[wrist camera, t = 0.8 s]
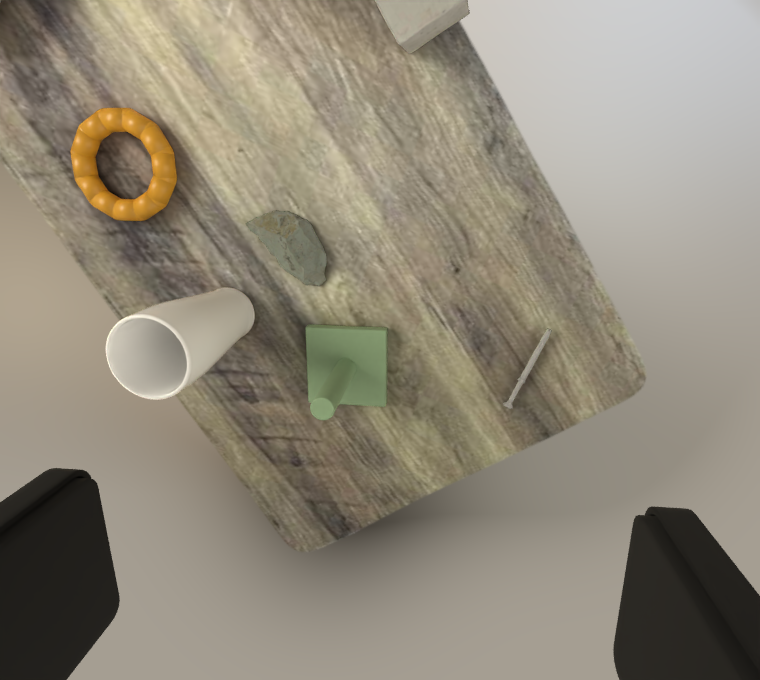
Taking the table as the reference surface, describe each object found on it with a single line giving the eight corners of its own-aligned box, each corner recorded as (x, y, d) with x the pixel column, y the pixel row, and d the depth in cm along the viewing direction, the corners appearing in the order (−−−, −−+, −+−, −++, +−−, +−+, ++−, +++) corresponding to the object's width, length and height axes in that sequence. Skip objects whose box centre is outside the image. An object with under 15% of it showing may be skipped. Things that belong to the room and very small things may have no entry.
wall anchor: (502, 401, 49) (503, 406, 48) (543, 325, 47) (545, 328, 46) (511, 405, 49) (513, 410, 48) (553, 330, 46) (555, 332, 46)
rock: (310, 295, 49) (346, 261, 47) (304, 298, 47) (341, 263, 45) (246, 225, 48) (281, 189, 47) (237, 226, 46) (273, 187, 45)
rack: (308, 324, 50) (271, 359, 39) (387, 327, 49) (371, 364, 38) (311, 398, 52) (276, 450, 41) (386, 402, 51) (371, 457, 40)
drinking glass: (261, 348, 51) (190, 408, 37) (199, 338, 51) (105, 393, 37) (265, 284, 49) (192, 321, 35) (200, 274, 49) (101, 306, 35)
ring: (73, 110, 47) (58, 107, 45) (173, 109, 45) (161, 105, 43) (90, 219, 49) (76, 220, 47) (185, 220, 48) (174, 221, 46)
